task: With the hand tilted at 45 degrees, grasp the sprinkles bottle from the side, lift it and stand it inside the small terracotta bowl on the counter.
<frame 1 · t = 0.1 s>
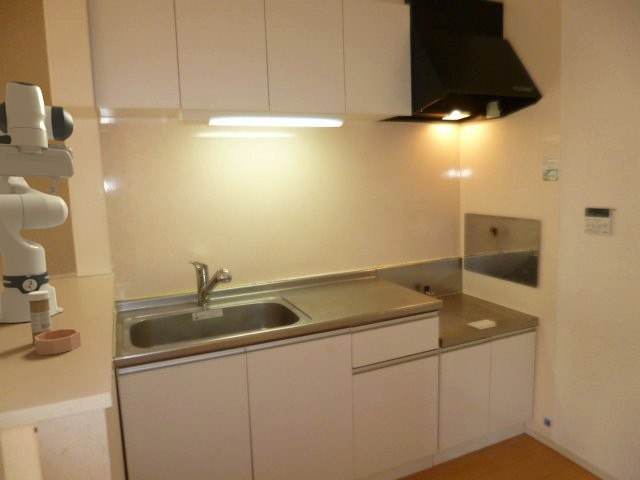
hand: (33, 193, 116), 39 cm above the worktop, tool pointing down, fingers open, 8 cm apart
bowl: (58, 347, 107), on the worktop
sprinkles bottle: (42, 343, 112), on the worktop
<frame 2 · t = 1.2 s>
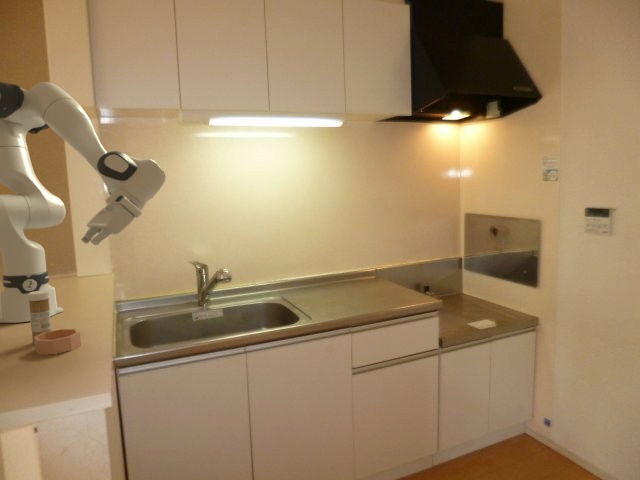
hand: (88, 242, 118), 25 cm above the worktop, tool tilted 45°, fingers open, 8 cm apart
nothing on the worktop moved.
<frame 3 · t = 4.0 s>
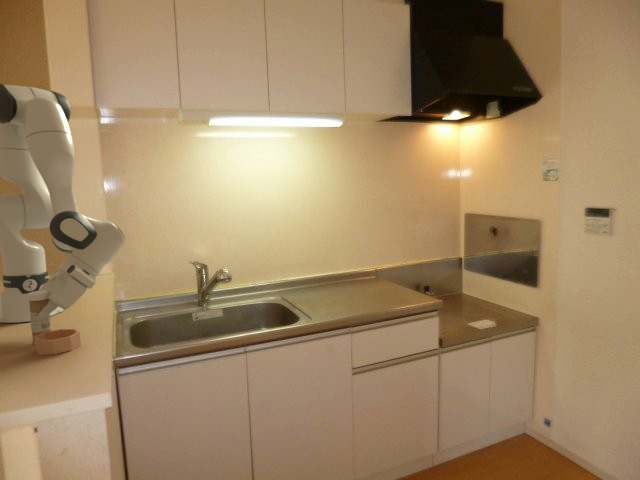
hand: (37, 315, 111), 7 cm above the worktop, tool tilted 45°, fingers closed on sprinkles bottle, 4 cm apart
sprinkles bottle: (42, 343, 112), on the worktop, touching gripper
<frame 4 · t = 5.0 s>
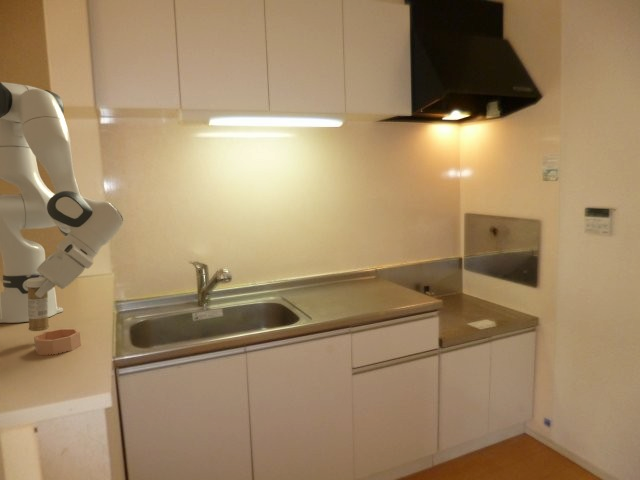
hand: (34, 293, 110), 13 cm above the worktop, tool tilted 45°, fingers closed on sprinkles bottle, 4 cm apart
sprinkles bottle: (38, 329, 112), point 3 cm above the worktop, touching gripper
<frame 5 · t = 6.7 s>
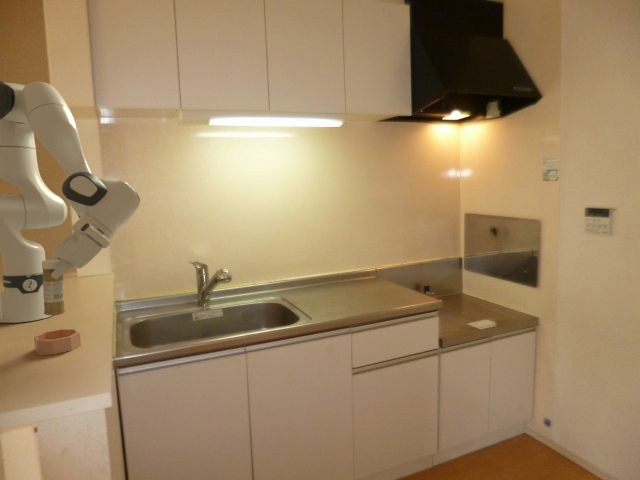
hand: (49, 276, 105), 18 cm above the worktop, tool tilted 45°, fingers closed on sprinkles bottle, 4 cm apart
sprinkles bottle: (54, 314, 106), point 9 cm above the worktop, touching gripper
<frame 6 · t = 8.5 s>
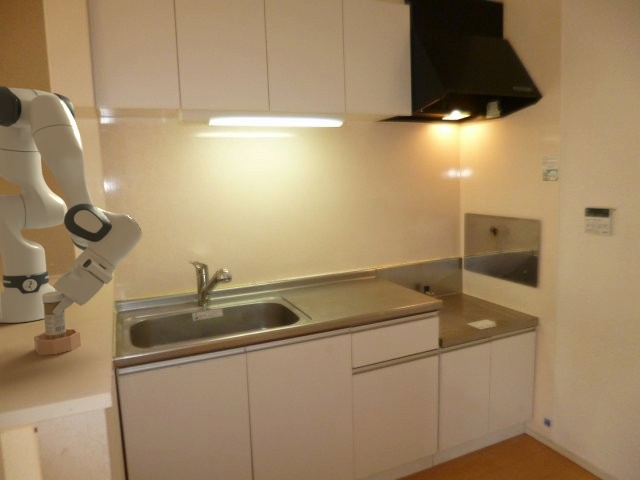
hand: (51, 311, 106), 10 cm above the worktop, tool tilted 45°, fingers closed on sprinkles bottle, 4 cm apart
sprinkles bottle: (56, 346, 107), resting on bowl, touching gripper
when the fingers open (9 cm above the worktop, at t = 8.6 s): sprinkles bottle stays where it is, resting on bowl.
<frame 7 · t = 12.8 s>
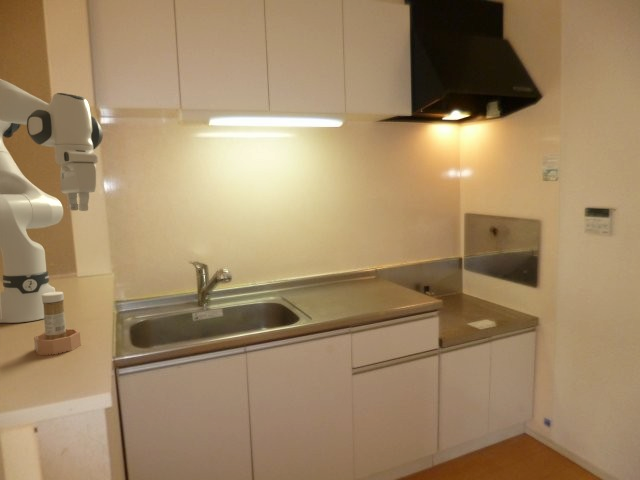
hand: (78, 210, 113), 34 cm above the worktop, tool pointing down, fingers open, 8 cm apart
sprinkles bottle: (56, 346, 107), resting on bowl
at the end: sprinkles bottle 0.4 cm from the bowl (horizontally); sprinkles bottle tilted 0°; sprinkles bottle resting on bowl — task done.
